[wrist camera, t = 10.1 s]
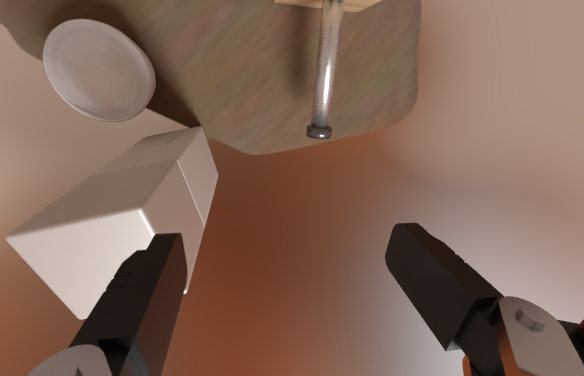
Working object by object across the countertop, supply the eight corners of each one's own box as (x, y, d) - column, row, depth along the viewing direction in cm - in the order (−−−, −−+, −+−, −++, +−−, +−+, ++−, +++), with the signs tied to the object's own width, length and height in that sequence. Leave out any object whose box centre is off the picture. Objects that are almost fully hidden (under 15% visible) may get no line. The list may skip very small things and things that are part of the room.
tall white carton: (202, 125, 38) (140, 205, 16) (218, 175, 42) (188, 294, 20) (144, 136, 37) (-1, 237, 15) (167, 186, 42) (78, 322, 19)
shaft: (319, -43, 26) (328, -57, 23) (348, -39, 27) (361, -52, 24) (304, 132, 35) (309, 138, 32) (326, 133, 35) (334, 139, 32)
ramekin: (82, 111, 35) (57, 118, 30) (59, 18, 30) (25, 9, 25) (167, 118, 37) (155, 126, 32) (158, 32, 32) (143, 27, 28)
